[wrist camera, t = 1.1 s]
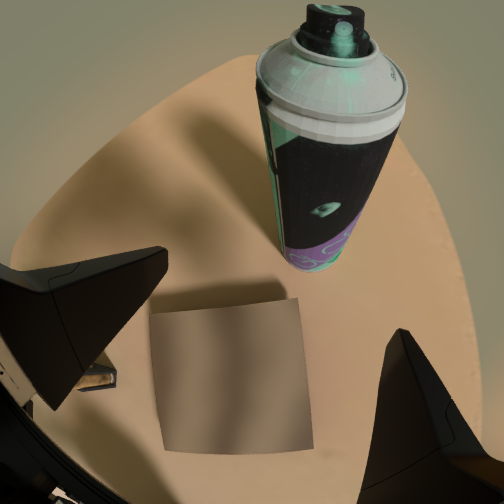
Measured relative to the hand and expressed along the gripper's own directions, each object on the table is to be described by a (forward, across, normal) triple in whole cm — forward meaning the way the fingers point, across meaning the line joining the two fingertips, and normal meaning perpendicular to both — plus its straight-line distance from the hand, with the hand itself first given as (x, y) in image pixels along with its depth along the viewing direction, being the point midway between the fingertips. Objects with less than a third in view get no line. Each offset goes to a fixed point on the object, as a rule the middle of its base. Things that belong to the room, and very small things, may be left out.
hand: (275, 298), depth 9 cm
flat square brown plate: (+5, +2, +14) cm, 15 cm away
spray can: (+15, 0, +4) cm, 15 cm away
